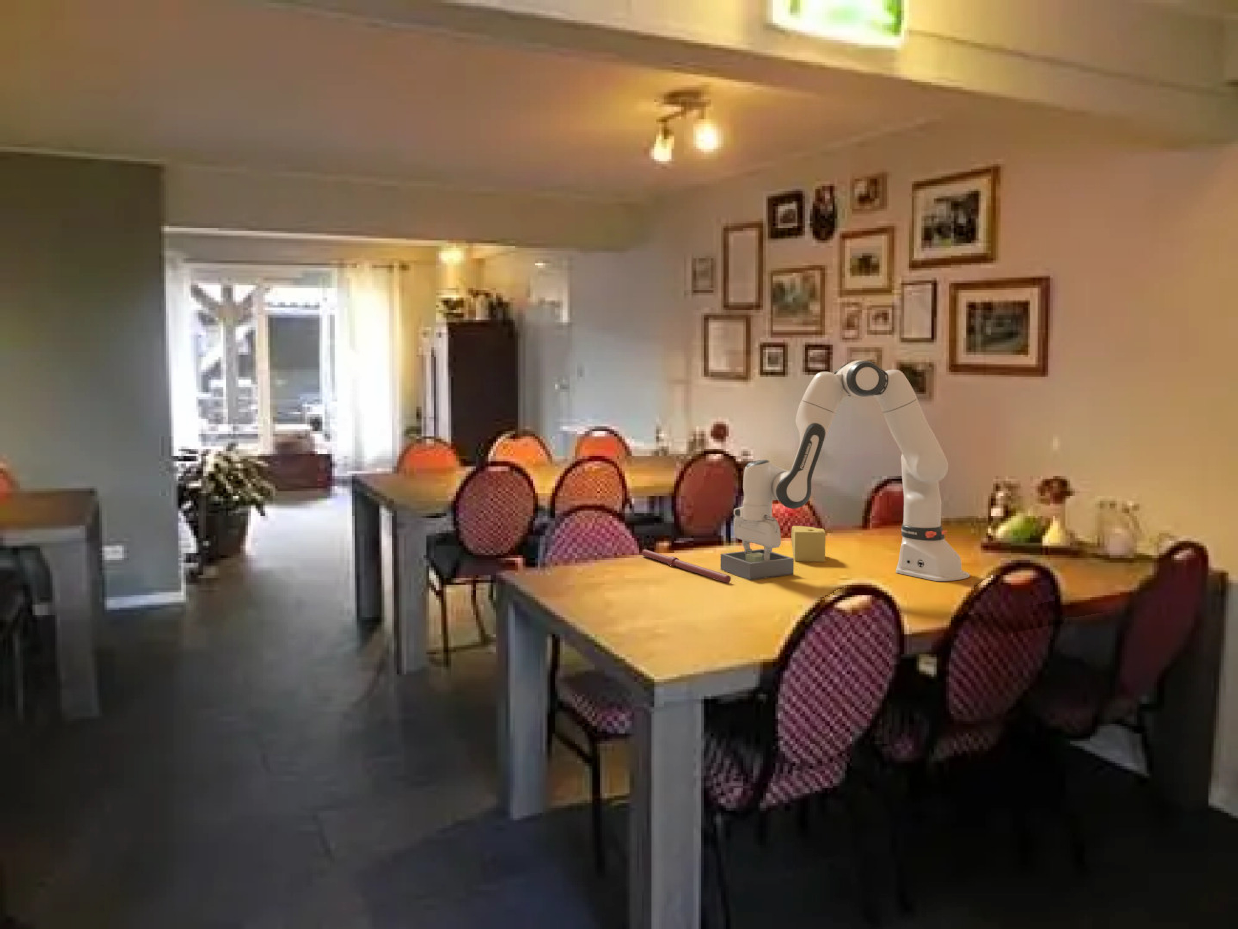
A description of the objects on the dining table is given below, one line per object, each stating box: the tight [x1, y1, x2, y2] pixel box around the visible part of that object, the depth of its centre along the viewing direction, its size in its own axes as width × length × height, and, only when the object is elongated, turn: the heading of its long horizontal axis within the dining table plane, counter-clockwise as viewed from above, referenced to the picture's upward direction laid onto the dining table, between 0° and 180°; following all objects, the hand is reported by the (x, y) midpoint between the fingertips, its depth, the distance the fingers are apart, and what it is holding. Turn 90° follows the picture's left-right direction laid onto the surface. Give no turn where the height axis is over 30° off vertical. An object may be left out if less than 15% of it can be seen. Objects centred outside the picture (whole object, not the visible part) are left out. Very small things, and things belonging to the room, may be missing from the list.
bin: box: [720, 548, 795, 581], centre depth 309 cm, size 16×16×5 cm
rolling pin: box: [641, 549, 732, 584], centre depth 314 cm, size 45×3×3 cm, turn 32°
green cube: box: [745, 553, 765, 563], centre depth 309 cm, size 5×5×5 cm
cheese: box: [790, 525, 826, 563], centre depth 328 cm, size 10×11×10 cm
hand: (756, 557), depth 309 cm, fingers open, 8 cm apart
